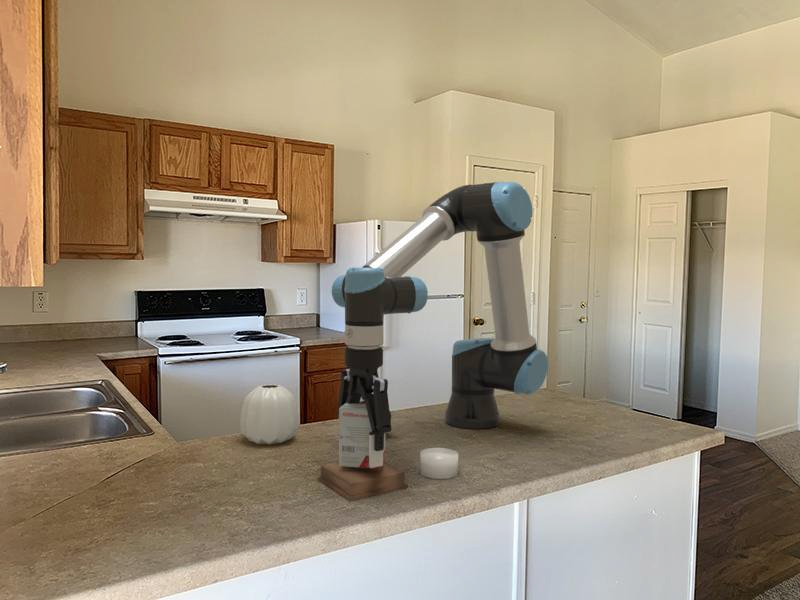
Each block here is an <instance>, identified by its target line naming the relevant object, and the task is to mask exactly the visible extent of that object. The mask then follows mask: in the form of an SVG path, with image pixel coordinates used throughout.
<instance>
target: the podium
mask: <svg viewBox="0 0 800 600" xmlns="http://www.w3.org/2000/svg"><path fill="white" fill-rule="evenodd" d="M405 474H406V473H405V471H404V470H401V469H400V468H397V467H396V466H394V465H391V463H390V464H389V463H387V462H386V461H385V464H384V465H383V467H382V468H381V469H371V468H358V467H345V466H339V461H337V462H331V463H327V464H322V465H321V466H320V476H317V481H319V482H320V483H322V484H323V485H324V486H326V487H328V488H329V489H331V490H332V491H334V492H335V493H337V494H339V496H341V497H343V498H345V500H347V501H349V502H354V501H357V500H361V499H365V498H369V497H373V496H377V495H381V494H382V495H383V494H386V493H390V492H394V491H398V490H402V489H406V488H408V487H409V484H408V483H407V482H405Z"/></svg>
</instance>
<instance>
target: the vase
mask: <svg viewBox="0 0 800 600" xmlns="http://www.w3.org/2000/svg"><path fill="white" fill-rule="evenodd" d="M240 412H241V413H240V420H239V428H240V432H241V433H242V434H243V436H244V437H245V438H246V439H247V440H248V441H249V442H250V443H255V444H257V445H273V444H282V443H283V442H287V441H289V440H291V439H292V437H294V436H295V435H296V433H297V432H298V430H299V426H300V416H299V410H298V405H297V401H296V399H295V396H294V395H293V393H292V392H291V391H290V390H289V389H287V388H286V387H284V386H282V385H280V384H276V383H275V384H274V383H267V384H261V385H258V386H257V387H255V388H253V389H252V390H251V391H250V392H249V393H248V394H247V395H246V396H245V399H244V401H243V403H242V407H241V411H240Z"/></svg>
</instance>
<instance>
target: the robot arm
mask: <svg viewBox="0 0 800 600" xmlns="http://www.w3.org/2000/svg"><path fill="white" fill-rule="evenodd" d="M532 218H533V204H532V200H531V198H530V195H529V193H528V191H527V189H525V188H524V187H523V185H521V184H520V183H518V182H514V181H503V180H502V181H495V182H487V183H479V184H465V185H461V186H458V187H456V188H454V189H452V190H451V191H448V192H447V193H445V194H443V195H442V196H441V197H439V198H438V199H437V200H435V201H433V202H432V203H431V204H430V205H429V206H427V207H426V208H425V209H424V210H423V212H422V214H421V217H420V218H419V219H418V220H417V221H416V222H415V223H413V224H412V225H411V226H410V227H408V228H407V229H406V230H405V231H404V232H403V233H401V234H400V235H399V236H398V237H396V238H395V239H394V240H393V241H391V242H390V243H389V244H387V246H385V248H383V249H382V250H381V251H380V252H379V253H377V254H376V255H375V256H374V257H372V258H371V259H370V260H368V261H367V263H365V264H364V265H363V266H362V267H353V266H352V267H349V268H348V269H347V270H346V272H345V274H341V275H338V277H336V278H335V280H334V281H333V283H332V285H331V286H332V287H331V296H332V300H333V302H334V303H335V304H336V305H337V306H339V307H340V308H344V327H345V328H344V331H343V334H344V344H345V345H346V347H345V348H344V362H343V363H344V366H345V367H347V368H346V369H342V370H340V376H341V377H340V378H341V382H340V389H339V397H338V404H337V405H338V406H337V412H336V413H337V416H338V417H339V408H340V407H341V406H343V405H344V404H345V403H349V404H351V403H357V404H359V402H361V400H362V401H365V404H366V408H367V412H368V416H369V421H370V425H371V429H372V432H370V433H369V467H370V468H374V467H379V466H383V449H384V433H385V434H386V433H389V432H392V419H391V420H390V413H391V410H390V404H389V393H388V386H389V385H388V384H389V381H388V379H387V378H383V379H381V378H380V377H379V373H378V372H379V371H378V369H379V368H381V367H382V366H383V365H384V349H383V347H381V346H383V345H384V319H385V318H384V315H395V314H411V313H415V312H420V311H422V310H423V309H424V307H425V306H426V304H427V302H428V297H429V292H428V288H427V285H426V283H425V281H423V280H422V279H421V278H419V277H416V276H410V275H409V276H404V274H405V275H406V273H407V272H408V271H409V270H410V269H412V267H414V266H415V265H416V264H417V263H418V262H419V261H420V260H422V259H423V258H424V257H425V256H426V255H428V253H429V252H430V251H431V250H433V248H435V247H436V246H437V245H438V244H440V243H441V242H442V241H449V240H450V239H451V238H453V236H454V235H455V236H456V235H457V234H460V233H466V232H476V233H475V234H476V239H477V242H478V243H479V244H480V245H482V246H483V248H484V255H485V262H486V270H487V271H486V273H487V281H488V287H489V295H490V302H491V303H490V305H491V311H492V320H493V321H492V322H493V327H494V334H495V337H493V338H492V337H484V338H483V337H481V338H479V337H478V338H470V339H469V338H468V339H462V340H461V339H460V340H456V341H455V342H454V343H453V346H452V353H451V393H450V394H451V395H450V397H449V401H448V404H447V406H446V407H447V408H446V410H445V411H444V423H446V424H448V425H451V426H453V427H457V428H463V429H474V430H475V429H476V430H477V429H478V430H479V429H490V428H494V427H497V426H499V425H500V424H501V420H500V419H501V416H500V414H501V413H500V412H499V409H498V405H497V402H496V397H495V390H500V391H504V392H505V391H506V392H510V393H515V394H517V395H520V394H521V395H533V394H535V393H536V392H538V391H539V390H540V389H541V387H543V384H544V382H545V380H546V377H547V374H548V369H549V359H548V358H549V357H548V355H547V354H546V352H545V351H543V350H541V349H540V348H538V346H537V344H538V343H537V339H536V338H535V337H534V336H533V335H532V334H530V330H529V329H530V328H529V319H528V317H529V316H528V310H527V302H526V301H527V300H526V292H525V282H524V273H523V263H522V255H521V247H520V245H521V244H520V243H521V241H522V240H523V238H524V237H525V235H526V234H525V232H526V231H525V230H526V229H528V227H529V226H530V225H531V223H532ZM385 425H386V426H385Z"/></svg>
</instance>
